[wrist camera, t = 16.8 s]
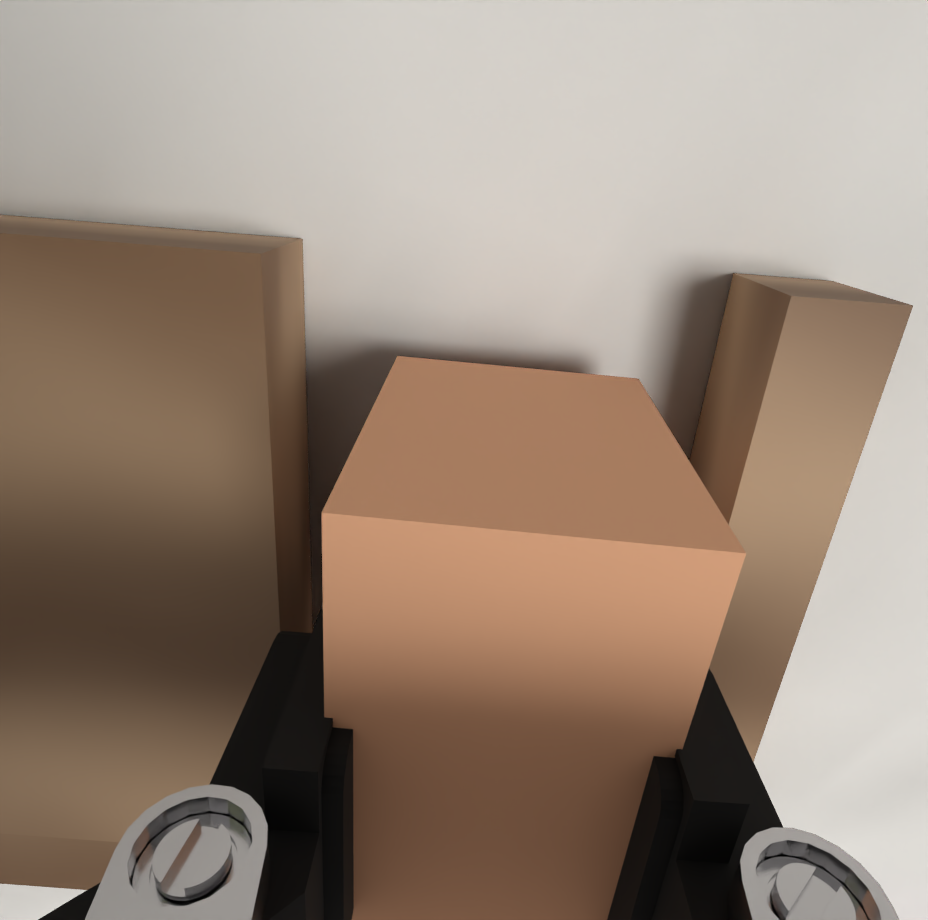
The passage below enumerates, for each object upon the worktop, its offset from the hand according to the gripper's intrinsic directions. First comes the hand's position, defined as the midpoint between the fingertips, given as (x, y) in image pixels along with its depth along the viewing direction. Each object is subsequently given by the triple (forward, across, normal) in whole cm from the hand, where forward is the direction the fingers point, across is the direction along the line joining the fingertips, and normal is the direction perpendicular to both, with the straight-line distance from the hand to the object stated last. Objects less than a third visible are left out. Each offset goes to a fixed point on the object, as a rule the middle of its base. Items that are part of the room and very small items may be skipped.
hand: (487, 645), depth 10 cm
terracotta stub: (+1, 0, 0) cm, 1 cm away
